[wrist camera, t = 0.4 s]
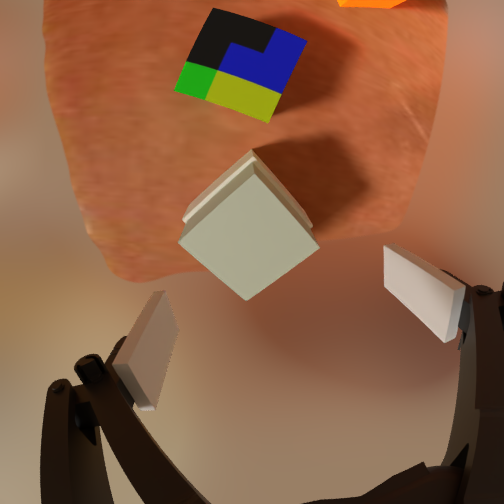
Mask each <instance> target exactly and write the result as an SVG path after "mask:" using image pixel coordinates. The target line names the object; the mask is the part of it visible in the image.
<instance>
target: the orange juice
mask: <svg viewBox="0 0 504 504" xmlns="http://www.w3.org/2000/svg"><path fill="white" fill-rule="evenodd" d="M337 1H338V3H339V6H340V7H378V8H391V7H393V6H395V5H397V4H400V3H402V2H404V1H406V0H337Z"/></svg>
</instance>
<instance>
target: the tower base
mask: <svg viewBox="0 0 504 504" xmlns="http://www.w3.org/2000/svg"><path fill="white" fill-rule="evenodd" d="M251 162H253V163H254V164H255V165H256V166H257V168H258V169H259V170H260V171H261V172H262V173H263V174H264V175H265V176H266V177H267V178H268V180H269V181H270V182H271V183H272V184H273V185H274V186H275V187H276V188H277V190H278V191H279V192H280V193H281V194H282V195H283V196H284V198H285V199H286V200H287V201H288V202H289V203H290V204H291V206H292V207H293V208H294V209H295V210H296V211H297V212H298V214H299V215H300V216H301V217H302V218H303V220H304V221H305V222H306V223H307V224H308V226H309V227H310V228H312V227H313V225H312V223H311V221H310V220H309V218H308V216H307V214H306V212H305V211H304V209H303V208H302V207H301V206H300V205H299V203H298V202H297V201H296V200H295V198H294V197H293V196H292V195H291V194H290V193H289V191H288V190H287V189H286V188H285V187H284V185H283V184H282V183H281V182H280V181H279V180H278V178H277V177H276V176H275V175H274V174H273V173H272V172H271V170H270V169H269V168H268V167H267V166H266V165H265V164H264V162H263V161H262V160H261V159H260V158H259V157H258V156H257V155H256V154H255V152H254V151H253V150H252V149H251V150H250V151H249V152H248V153H246V154H245V155H244V156H243V157H242V158H240V159H239V160H238V161H237V162H236V163H235V164H233V165H232V166H231V167H230V168H229V169H228V170H227V171H225V172H224V173H223V174H222V175H221V176H220V177H219V178H218V179H216V180H215V181H214V182H213V183H212V184H211V185H210V186H209V187H208V188H206V189H205V190H204V191H203V192H202V193H201V194H200V195H199V196H198V197H197V198H196V199H195V200H194V201H192V202H191V203H190V204H189V206H188V208H187V210H186V212H185V214H184V216H183V218H182V220H183V221H184V222H185V223H186V222H187V220H188V219H189V218H190V217H191V216H192V215H194V214H195V213H196V212H197V211H198V210H199V209H200V208H201V207H202V206H203V205H204V204H205V203H206V202H207V201H209V200H210V199H211V198H212V197H213V196H214V195H215V194H216V193H217V192H218V191H219V190H221V189H222V188H223V187H224V186H225V185H226V184H227V183H228V182H230V181H231V180H232V179H233V178H234V177H235V176H236V175H238V174H239V173H240V172H241V171H242V170H243V169H244V168H246V167H247V166H248V165H249V164H250V163H251Z"/></svg>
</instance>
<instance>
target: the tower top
mask: <svg viewBox="0 0 504 504" xmlns="http://www.w3.org/2000/svg"><path fill="white" fill-rule="evenodd" d="M178 243H179V244H180V245H181V246H182V247H183V248H184V249H186V250H187V251H188V252H189V253H190V254H191V255H192V256H194V257H195V258H196V259H197V260H198V261H199V262H200V263H202V264H203V265H204V266H205V267H206V268H207V269H209V270H210V271H211V272H212V273H213V274H214V275H216V276H217V277H218V278H219V279H220V280H222V281H223V282H224V283H225V284H226V285H227V286H229V287H230V288H231V289H232V290H234V291H235V292H236V293H237V294H238V295H239V296H241V297H242V298H243V299H244V300H245V301H247V300H248V299H250V298H251V297H253V296H254V295H256V294H257V293H258V292H260V291H261V290H263V289H264V288H266V287H267V286H268V285H270V284H271V283H272V282H274V281H275V280H277V279H278V278H280V277H281V276H282V275H284V274H285V273H286V272H288V271H289V270H290V269H292V268H293V267H295V266H296V265H297V264H299V263H300V262H301V261H303V260H304V259H306V258H307V257H308V256H310V255H311V254H312V253H314V252H315V251H316V250H317V249H319V248H320V247H319V245H318V243H317V241H316V239H315V237H314V235H313V233H312V231H311V229H310V227H309V226H308V224H307V223H306V222H305V221H304V220H303V218H302V217H301V216H300V215H299V214H298V212H297V211H296V210H295V209H294V208H293V207H292V206H291V204H290V203H289V202H288V201H287V200H286V199H285V198H284V196H283V195H282V194H281V193H280V192H279V191H278V190H277V188H276V187H275V186H274V185H273V184H272V183H271V182H270V181H269V180H268V178H267V177H266V176H265V175H264V174H263V173H262V172H261V171H260V170H259V169H258V168H257V166H256V165H255V164H254V163H253V162H251V163H250V164H249V165H248V166H247V167H246V168H244V169H243V170H242V171H241V172H240V173H239V174H238V175H236V176H235V177H234V178H233V179H232V180H231V181H230V182H228V183H227V184H226V185H225V186H224V187H223V188H222V189H221V190H219V191H218V192H217V193H216V194H215V195H214V196H213V197H212V198H211V199H210V200H209V201H207V202H206V203H205V204H204V205H203V206H202V207H201V208H200V209H199V210H198V211H197V212H196V213H195V214H194V215H192V216H191V217H190V218H189V219H188V220H187V222H186V225H185V227H184V229H183V232H182V234H181V236H180V239H179V241H178Z"/></svg>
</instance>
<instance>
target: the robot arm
mask: <svg viewBox="0 0 504 504" xmlns="http://www.w3.org/2000/svg"><path fill="white" fill-rule="evenodd" d="M384 287H386V288H387V289H388V290H389V291H390V292H391V293H392V294H393V295H394V296H395V297H397V298H398V299H399V300H400V301H401V302H402V303H403V304H404V305H405V306H406V307H407V308H408V309H410V310H411V311H412V312H413V313H414V314H415V315H416V316H417V317H418V318H419V319H420V320H421V321H422V322H423V323H424V324H425V325H426V326H427V327H428V328H429V329H431V330H432V331H433V332H434V333H435V334H436V335H437V336H438V337H439V338H440V339H441V340H442V341H443V342H444V343H446V342H448V341H450V340H452V339H454V338H455V337H456V333H457V329H458V327H459V328H460V329H461V330H462V335H461V339H460V343H459V347H458V350H460V347H461V355H460V373H459V383H458V393H457V400H456V408H455V414H454V420H453V425H452V431H451V435H450V440H449V444H448V448H447V452H446V455H445V458H444V459H443V462H442V464H441V466H433V467H426V466H425V464H424V462H421V463H420V464H417V465H415V466H413V467H411V468H409V469H407V470H405V471H403V472H401V473H398V474H396V475H394V476H392V477H391V478H389V479H388V480H386V481H385V482H383V483H382V484H380V485H378V486H377V487H375V488H374V489H372V490H371V491H369V492H367V493H366V494H364V495H362V496H359V497H351V498H341V499H324V500H317V501H312V502H307V503H303V504H504V282H503V286H502V291H497V292H494V291H493V290H492V289H491V288H490V287H487V286H484V285H477V286H474V287H471V286H470V285H468V284H467V283H465V282H463V281H462V280H460V279H458V278H457V277H455V276H453V275H452V274H451V273H449V272H447V271H445V270H441V269H438V268H436V267H435V266H433V265H431V264H430V263H428V262H426V261H425V260H423V259H421V258H420V257H418V256H416V255H414V254H413V253H411V252H409V251H407V250H406V249H404V248H402V247H400V246H398V245H397V244H395V243H392V244H388V245H384ZM178 332H179V327H178V325H177V322H176V319H175V316H174V314H173V311H172V308H171V305H170V303H169V299H168V297H167V294H166V291H165V290H163V291H157V292H153V294H152V295H151V297H150V299H149V300H148V302H147V304H146V305H145V307H144V309H143V310H142V312H141V314H140V315H139V317H138V319H137V320H136V322H135V324H134V326H133V327H132V329H131V331H130V333H129V334H128V336H124V337H123V338H121V339H120V340H119V341H118V342H117V343H116V345H115V347H114V350H112V352H111V353H110V354H111V355H110V356H109V357H108V359H107V360H106V362H105V364H104V363H103V361H102V359H101V357H100V356H99V355H98V354H89V355H87V356H84V357H82V358H81V359H79V360H78V361H77V362H76V364H75V366H74V370H75V372H76V373H77V375H78V377H79V378H80V380H81V381H82V383H83V384H82V385H77V386H72V385H71V383H70V382H69V381H68V380H67V379H59V380H57V381H54V382H53V383H52V384H51V385H50V387H49V388H48V391H47V396H46V403H45V410H44V417H43V427H42V439H41V456H40V487H41V503H42V504H114V501H113V498H112V494H111V490H110V485H109V481H108V477H107V472H106V467H105V461H104V456H103V449H102V443H101V435H100V427H99V426H101V428H102V430H103V433H104V435H105V437H106V439H107V441H108V443H109V445H110V447H111V449H112V451H113V452H114V455H115V456H116V458H117V460H118V462H119V464H120V465H121V467H122V469H123V471H124V472H125V474H126V476H127V477H128V479H129V481H130V482H131V484H132V485H133V487H134V488H135V490H136V492H137V493H138V495H139V496H140V497H141V499H142V501H143V502H144V503H145V504H211V503H210V502H209V501H208V500H207V499H206V498H205V497H204V496H203V495H202V494H201V493H200V492H199V491H198V490H197V489H196V488H195V487H194V486H193V485H192V484H191V483H190V482H189V481H188V480H187V479H186V477H185V476H184V475H183V474H182V473H181V472H180V471H179V470H178V468H177V467H176V466H175V465H174V464H173V462H172V461H171V460H170V459H169V458H168V456H167V455H166V454H165V453H164V452H163V450H162V449H161V448H160V446H159V445H158V444H157V442H156V441H155V440H154V439H153V437H152V436H151V434H150V433H149V432H148V430H147V429H146V428H145V426H144V425H143V423H142V422H141V420H140V419H139V418H138V416H137V415H136V413H135V412H134V410H133V409H132V408H133V404H134V402H135V403H136V404H137V406H138V408H139V409H140V410H156V407H157V403H158V399H159V396H160V392H161V388H162V385H163V381H164V378H165V375H166V371H167V368H168V365H169V361H170V358H171V355H172V351H173V348H174V345H175V341H176V338H177V335H178Z"/></svg>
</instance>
